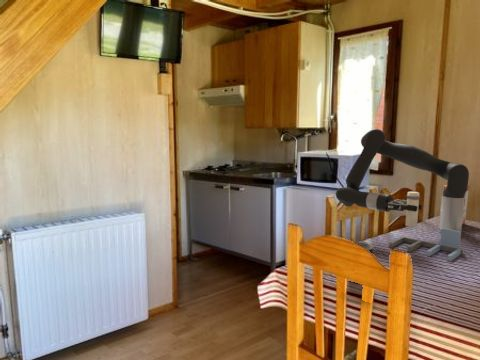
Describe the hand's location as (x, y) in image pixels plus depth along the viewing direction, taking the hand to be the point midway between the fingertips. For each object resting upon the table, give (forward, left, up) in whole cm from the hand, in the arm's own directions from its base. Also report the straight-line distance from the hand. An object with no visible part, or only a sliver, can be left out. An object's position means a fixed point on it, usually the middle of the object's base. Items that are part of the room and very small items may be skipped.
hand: (419, 207), depth 157 cm
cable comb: (+1, +3, -18) cm, 18 cm away
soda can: (+27, -38, -18) cm, 50 cm away
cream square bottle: (-2, -2, -8) cm, 8 cm away
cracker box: (-37, +44, -18) cm, 61 cm away
